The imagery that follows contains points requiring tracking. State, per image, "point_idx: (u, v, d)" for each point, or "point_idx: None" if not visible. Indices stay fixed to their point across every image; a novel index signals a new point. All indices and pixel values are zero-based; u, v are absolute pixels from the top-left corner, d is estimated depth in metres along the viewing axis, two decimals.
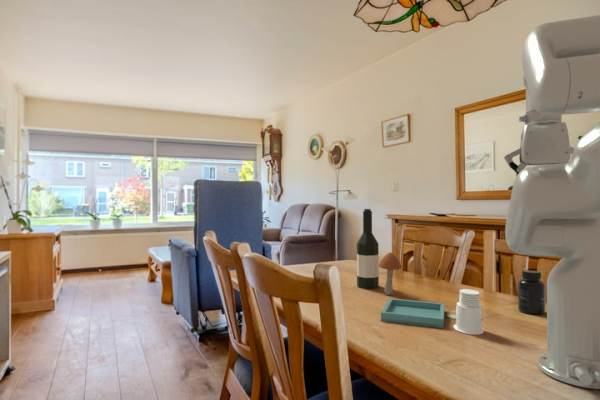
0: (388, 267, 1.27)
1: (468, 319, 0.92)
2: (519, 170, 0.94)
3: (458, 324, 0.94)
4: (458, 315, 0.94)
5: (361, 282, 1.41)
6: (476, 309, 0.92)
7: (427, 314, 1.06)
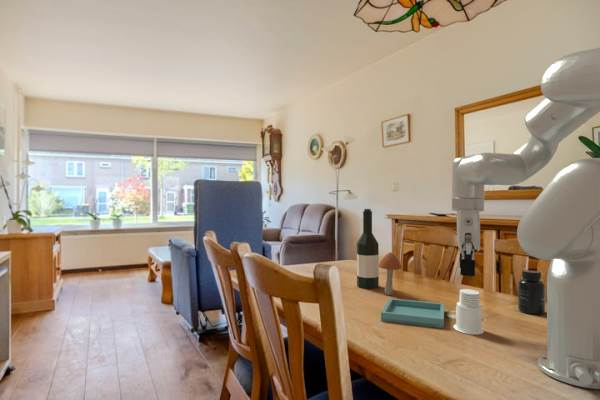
0: (388, 267, 1.27)
1: (468, 319, 0.92)
2: None
3: (458, 324, 0.94)
4: (458, 315, 0.94)
5: (361, 282, 1.41)
6: (476, 309, 0.92)
7: (427, 314, 1.06)
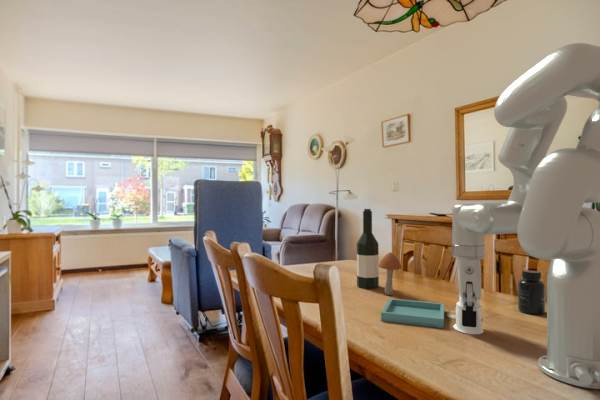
0: (388, 267, 1.27)
1: None
2: None
3: (458, 324, 0.94)
4: (458, 315, 0.94)
5: (361, 282, 1.41)
6: (476, 309, 0.92)
7: (427, 314, 1.06)
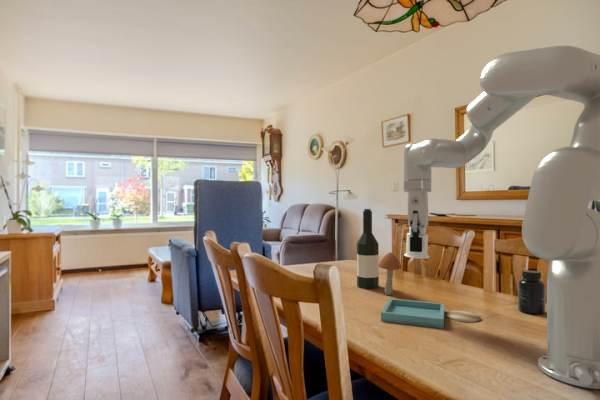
0: (388, 267, 1.27)
1: None
2: (420, 236, 1.02)
3: (407, 251, 1.05)
4: (407, 243, 1.05)
5: (361, 282, 1.41)
6: (422, 236, 1.03)
7: (427, 314, 1.06)
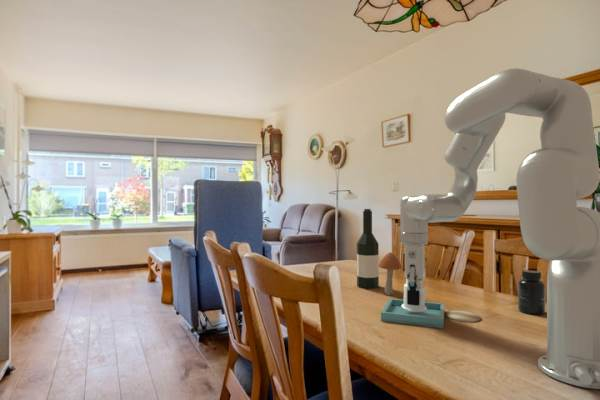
0: (388, 267, 1.27)
1: None
2: (417, 289, 1.02)
3: (404, 303, 1.06)
4: (404, 295, 1.06)
5: (361, 282, 1.41)
6: (419, 289, 1.03)
7: (427, 314, 1.06)
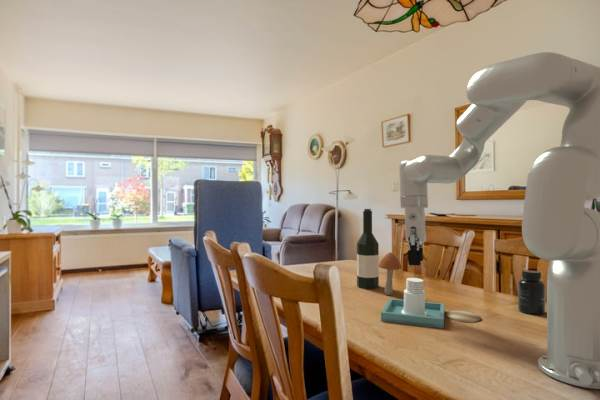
0: (388, 267, 1.27)
1: (412, 304, 1.04)
2: (418, 249, 1.00)
3: (404, 308, 1.06)
4: (404, 300, 1.06)
5: (361, 282, 1.41)
6: (419, 295, 1.03)
7: (427, 314, 1.06)
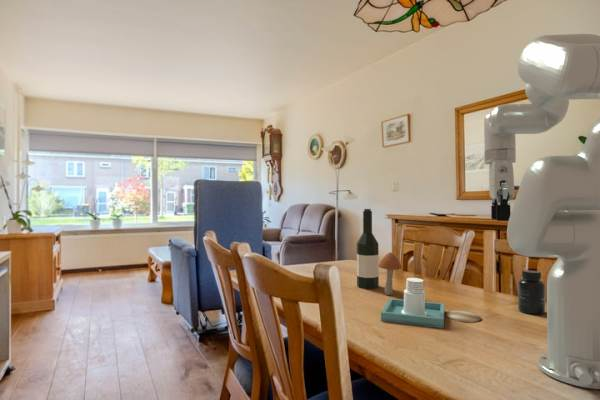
0: (388, 267, 1.27)
1: (412, 304, 1.04)
2: None
3: (404, 309, 1.06)
4: (404, 300, 1.06)
5: (361, 282, 1.41)
6: (419, 295, 1.03)
7: (427, 314, 1.06)
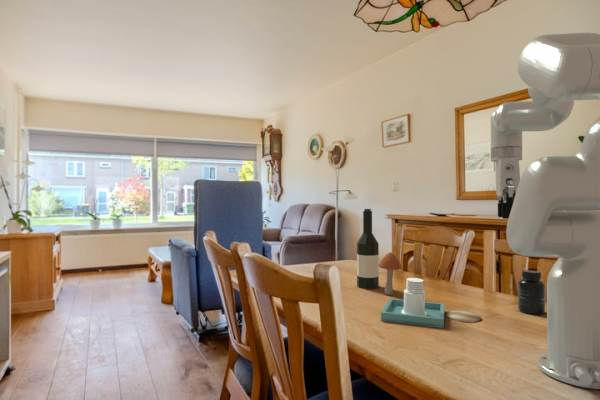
0: (388, 267, 1.27)
1: (412, 304, 1.04)
2: None
3: (404, 309, 1.06)
4: (404, 300, 1.06)
5: (361, 282, 1.41)
6: (419, 295, 1.03)
7: (427, 314, 1.06)
